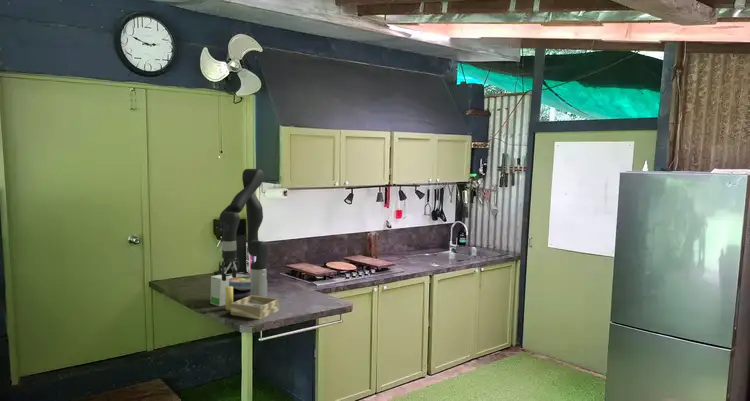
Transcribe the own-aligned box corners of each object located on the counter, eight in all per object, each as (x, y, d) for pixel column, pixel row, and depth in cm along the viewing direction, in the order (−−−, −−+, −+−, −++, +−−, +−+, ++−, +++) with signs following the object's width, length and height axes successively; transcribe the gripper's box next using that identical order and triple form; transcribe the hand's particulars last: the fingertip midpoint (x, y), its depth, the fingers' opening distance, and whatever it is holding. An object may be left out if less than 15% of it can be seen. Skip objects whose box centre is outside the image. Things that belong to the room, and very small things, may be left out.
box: (251, 306, 286) (251, 295, 286) (279, 310, 280) (279, 299, 279) (230, 314, 270) (230, 303, 269) (260, 319, 263) (260, 307, 263)
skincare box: (210, 304, 289) (209, 276, 288) (219, 301, 295) (219, 274, 293) (220, 306, 284) (220, 278, 283) (229, 303, 290) (229, 276, 289)
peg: (228, 307, 282) (228, 285, 282) (234, 308, 281) (234, 286, 280) (223, 309, 279) (223, 287, 278) (230, 310, 277) (230, 288, 276)
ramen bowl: (215, 290, 319) (215, 277, 318) (241, 283, 339) (241, 270, 338) (246, 296, 307) (246, 282, 306) (271, 288, 327) (271, 275, 327)
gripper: (231, 246, 285) (231, 275, 287) (214, 250, 272) (214, 281, 273) (243, 247, 283) (243, 277, 284) (226, 251, 270) (226, 282, 271)
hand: (229, 279), depth 279 cm, fingers open, 8 cm apart
